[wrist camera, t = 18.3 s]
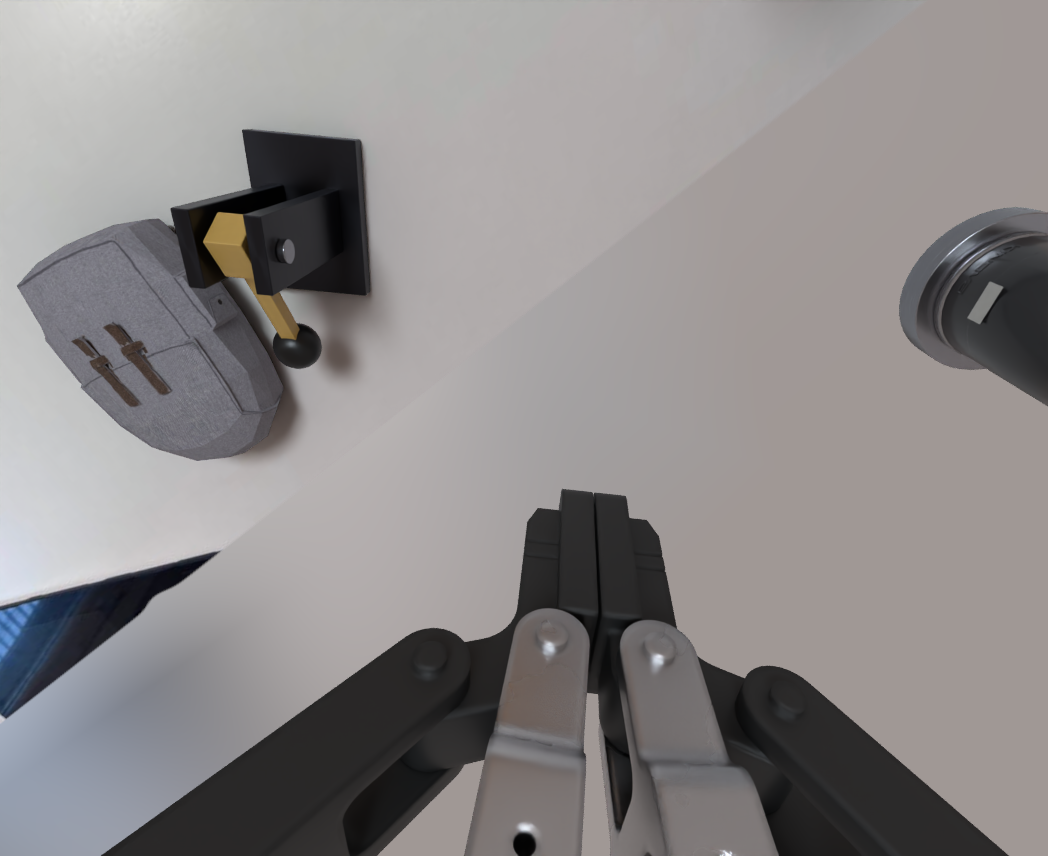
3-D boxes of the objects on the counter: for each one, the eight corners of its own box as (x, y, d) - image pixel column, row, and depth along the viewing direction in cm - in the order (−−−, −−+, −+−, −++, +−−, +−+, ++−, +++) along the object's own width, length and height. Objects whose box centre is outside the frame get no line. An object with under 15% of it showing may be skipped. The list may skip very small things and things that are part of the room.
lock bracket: (370, 291, 44) (305, 351, 33) (273, 282, 44) (177, 338, 33) (360, 139, 38) (278, 150, 27) (250, 129, 39) (124, 136, 28)
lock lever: (332, 343, 43) (320, 379, 42) (290, 338, 43) (277, 374, 42) (267, 210, 31) (248, 253, 30) (210, 204, 31) (188, 247, 30)
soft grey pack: (46, 264, 45) (202, 454, 54) (-53, 293, 38) (146, 508, 46) (187, 191, 41) (329, 409, 50) (107, 208, 34) (289, 458, 43)
